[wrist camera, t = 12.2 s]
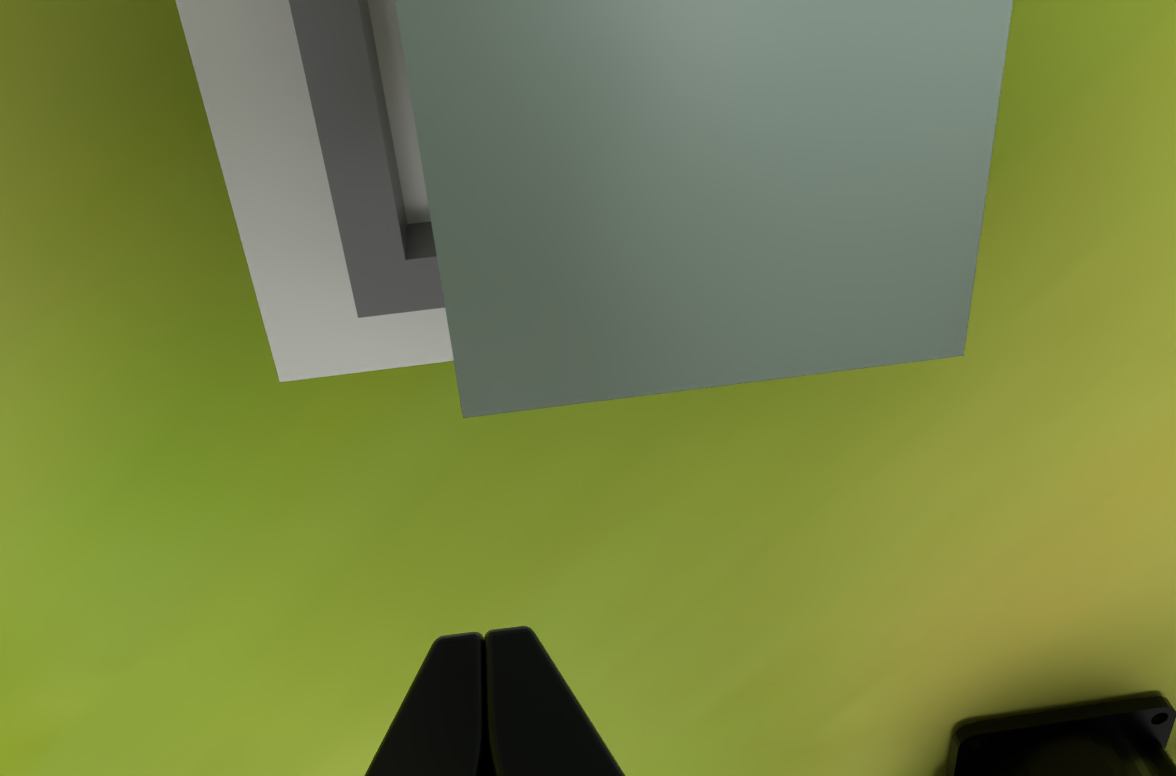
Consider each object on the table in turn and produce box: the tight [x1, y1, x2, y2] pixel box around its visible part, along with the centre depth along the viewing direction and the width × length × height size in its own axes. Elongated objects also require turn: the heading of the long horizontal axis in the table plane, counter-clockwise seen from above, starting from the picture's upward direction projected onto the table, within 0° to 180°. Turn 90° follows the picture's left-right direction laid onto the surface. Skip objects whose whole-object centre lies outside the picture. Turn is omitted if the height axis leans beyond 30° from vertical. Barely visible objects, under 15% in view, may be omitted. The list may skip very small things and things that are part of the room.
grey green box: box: [395, 0, 1013, 418], centre depth 14 cm, size 6×6×8 cm
